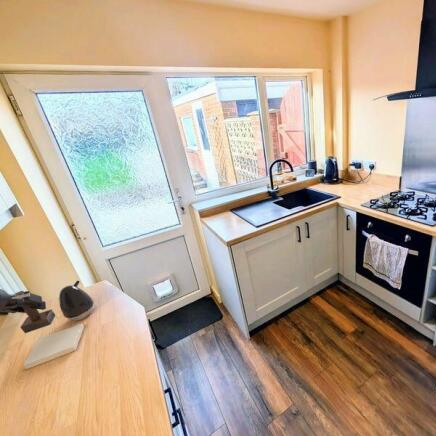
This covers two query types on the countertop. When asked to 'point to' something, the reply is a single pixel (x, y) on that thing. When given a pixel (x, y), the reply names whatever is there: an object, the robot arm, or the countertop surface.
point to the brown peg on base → (35, 318)
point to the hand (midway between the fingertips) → (38, 307)
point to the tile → (54, 346)
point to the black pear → (75, 302)
